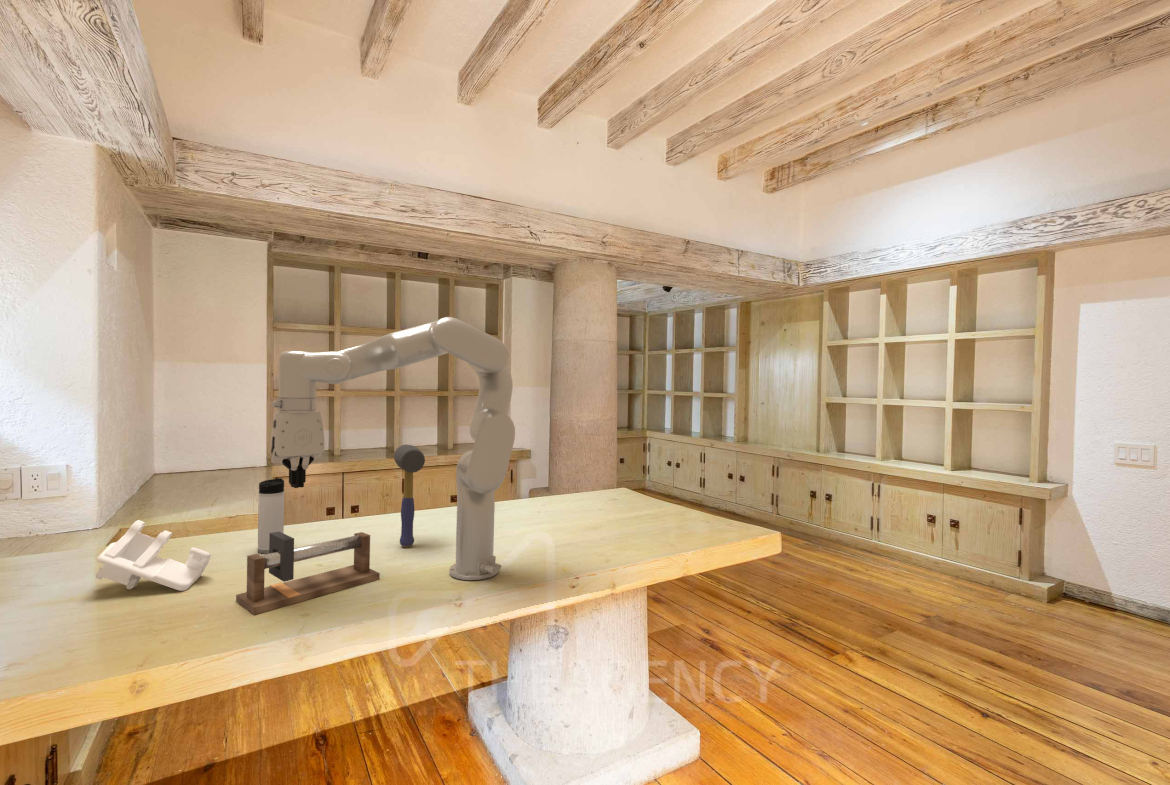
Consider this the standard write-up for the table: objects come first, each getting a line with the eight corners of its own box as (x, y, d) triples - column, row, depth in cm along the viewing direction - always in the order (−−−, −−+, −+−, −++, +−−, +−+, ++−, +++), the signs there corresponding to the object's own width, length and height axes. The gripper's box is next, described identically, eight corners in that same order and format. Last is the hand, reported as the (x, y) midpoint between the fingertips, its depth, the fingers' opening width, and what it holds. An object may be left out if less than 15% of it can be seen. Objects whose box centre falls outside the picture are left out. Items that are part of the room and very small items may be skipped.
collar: (278, 570, 123) (279, 531, 123) (293, 579, 118) (294, 538, 118) (268, 572, 121) (269, 533, 121) (283, 581, 116) (284, 540, 116)
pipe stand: (358, 569, 139) (359, 528, 139) (379, 579, 133) (380, 536, 133) (236, 601, 117) (236, 553, 117) (253, 614, 111) (254, 563, 111)
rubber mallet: (424, 551, 155) (427, 447, 155) (397, 554, 152) (400, 448, 151) (415, 539, 166) (418, 442, 166) (389, 542, 163) (392, 443, 162)
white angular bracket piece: (189, 595, 132) (218, 546, 134) (170, 614, 121) (202, 561, 123) (100, 564, 126) (132, 513, 128) (72, 581, 115) (107, 526, 117)
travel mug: (288, 547, 155) (290, 478, 155) (273, 554, 149) (274, 482, 148) (268, 546, 156) (269, 477, 156) (252, 553, 149) (253, 481, 149)
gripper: (268, 407, 113) (267, 494, 114) (338, 405, 125) (337, 484, 125) (254, 406, 118) (254, 489, 118) (323, 404, 129) (322, 480, 130)
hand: (297, 486), depth 122 cm, fingers closed
